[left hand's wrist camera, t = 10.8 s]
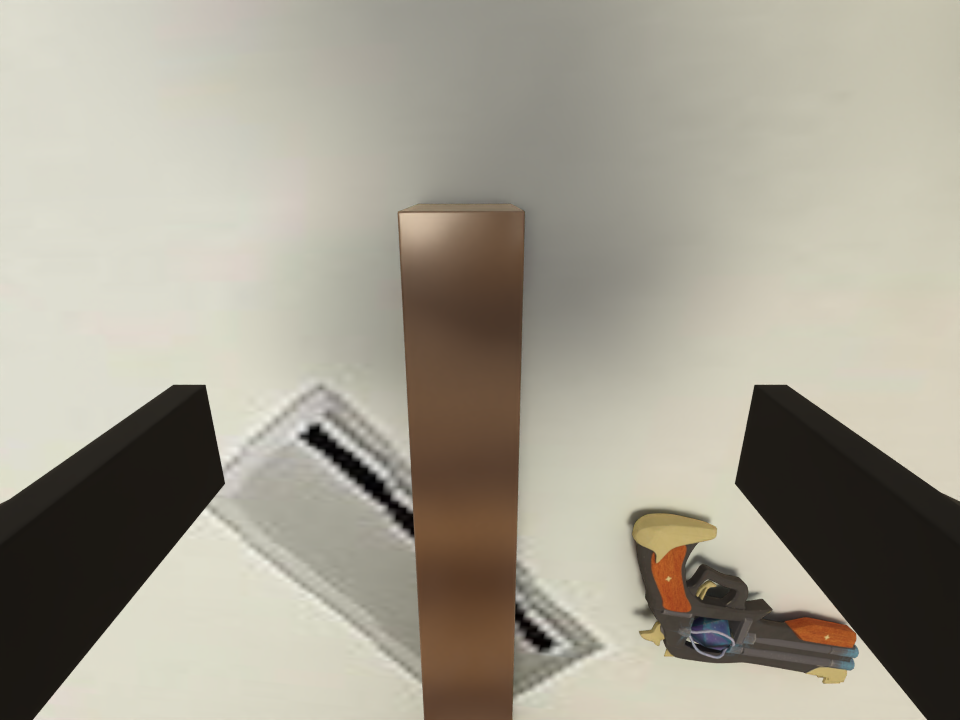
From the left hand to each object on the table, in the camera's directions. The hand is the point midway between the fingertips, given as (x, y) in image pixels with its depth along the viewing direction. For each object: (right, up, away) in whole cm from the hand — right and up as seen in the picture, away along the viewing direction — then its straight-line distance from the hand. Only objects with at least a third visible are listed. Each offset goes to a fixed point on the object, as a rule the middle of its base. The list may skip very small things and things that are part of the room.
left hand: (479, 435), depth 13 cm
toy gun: (+18, -14, +23) cm, 32 cm away
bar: (-1, -15, +23) cm, 28 cm away
